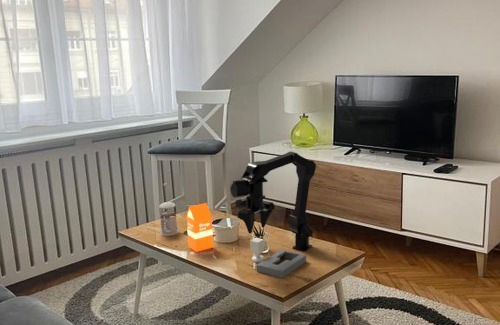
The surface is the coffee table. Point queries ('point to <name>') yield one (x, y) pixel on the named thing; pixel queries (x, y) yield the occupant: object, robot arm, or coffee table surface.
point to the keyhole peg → (257, 249)
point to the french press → (168, 219)
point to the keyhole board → (284, 267)
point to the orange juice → (199, 227)
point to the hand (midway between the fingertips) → (256, 230)
